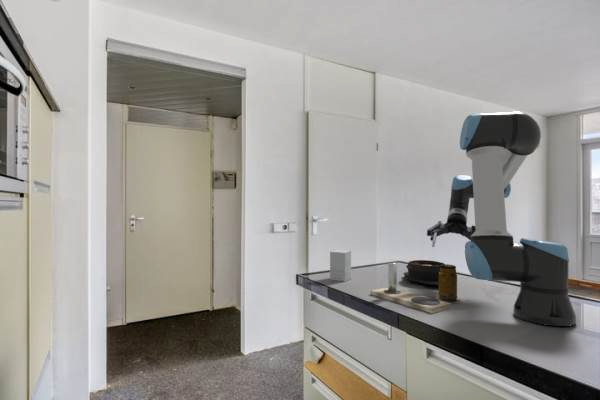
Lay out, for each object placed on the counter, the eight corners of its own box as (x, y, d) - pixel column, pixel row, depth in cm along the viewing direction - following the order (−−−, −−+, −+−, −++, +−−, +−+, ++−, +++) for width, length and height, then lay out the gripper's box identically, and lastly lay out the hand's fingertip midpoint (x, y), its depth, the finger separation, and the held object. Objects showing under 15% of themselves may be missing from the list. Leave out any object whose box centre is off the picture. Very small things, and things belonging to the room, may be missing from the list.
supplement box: (351, 278, 153) (351, 250, 153) (344, 282, 147) (344, 252, 147) (336, 276, 157) (337, 249, 157) (329, 279, 151) (329, 251, 151)
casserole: (393, 276, 158) (393, 258, 158) (430, 275, 161) (430, 257, 162) (421, 290, 134) (421, 269, 134) (464, 288, 137) (464, 267, 137)
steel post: (398, 296, 125) (398, 263, 125) (392, 297, 123) (392, 264, 123) (391, 294, 127) (392, 262, 127) (386, 295, 125) (386, 263, 125)
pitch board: (450, 307, 111) (450, 302, 111) (432, 313, 106) (432, 308, 106) (388, 290, 133) (388, 286, 133) (370, 294, 127) (370, 289, 127)
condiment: (443, 295, 127) (443, 262, 127) (466, 300, 120) (466, 266, 120) (433, 298, 122) (433, 265, 122) (456, 304, 116) (456, 268, 116)
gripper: (489, 232, 140) (489, 261, 123) (425, 223, 151) (417, 249, 134) (491, 216, 137) (492, 244, 120) (426, 208, 147) (418, 233, 131)
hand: (452, 247), depth 127 cm, fingers open, 13 cm apart
